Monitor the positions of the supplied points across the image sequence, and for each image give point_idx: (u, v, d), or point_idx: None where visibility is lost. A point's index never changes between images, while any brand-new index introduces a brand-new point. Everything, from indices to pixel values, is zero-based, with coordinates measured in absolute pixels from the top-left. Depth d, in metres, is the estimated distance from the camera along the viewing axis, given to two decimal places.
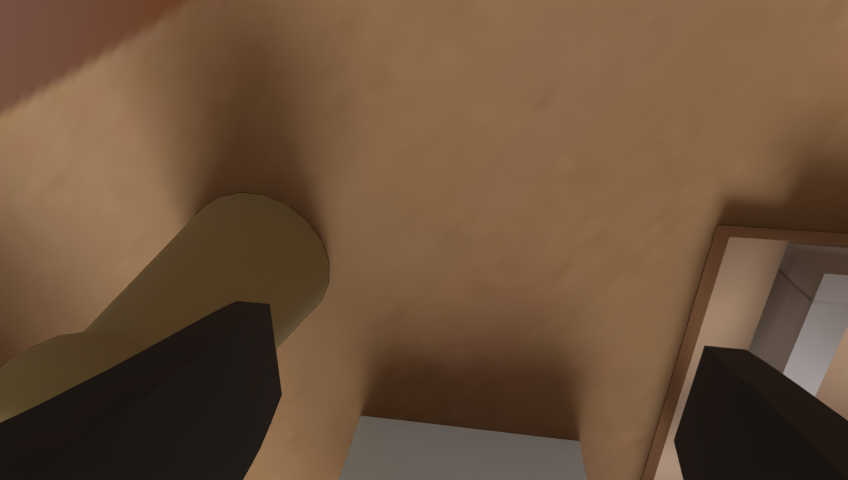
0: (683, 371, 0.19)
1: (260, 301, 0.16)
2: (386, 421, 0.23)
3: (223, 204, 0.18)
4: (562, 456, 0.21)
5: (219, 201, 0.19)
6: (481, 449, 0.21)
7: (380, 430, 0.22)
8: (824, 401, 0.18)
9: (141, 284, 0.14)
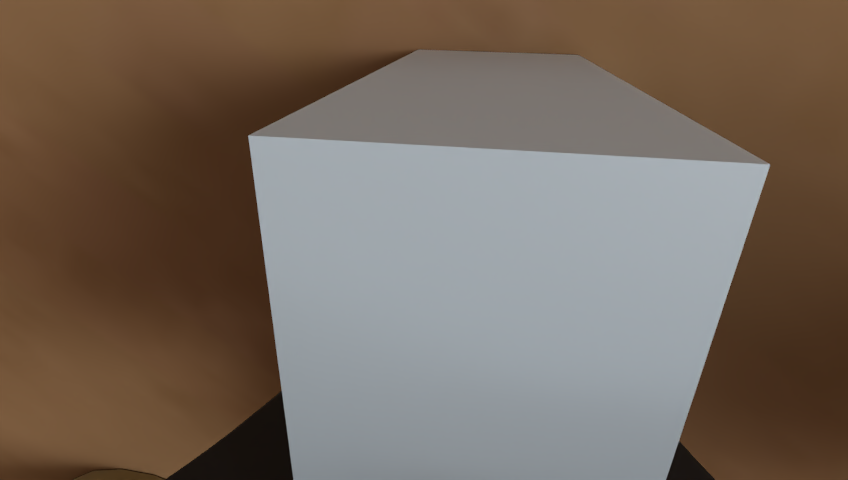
0: None
1: None
2: None
3: None
4: None
5: None
6: None
7: None
8: None
9: None
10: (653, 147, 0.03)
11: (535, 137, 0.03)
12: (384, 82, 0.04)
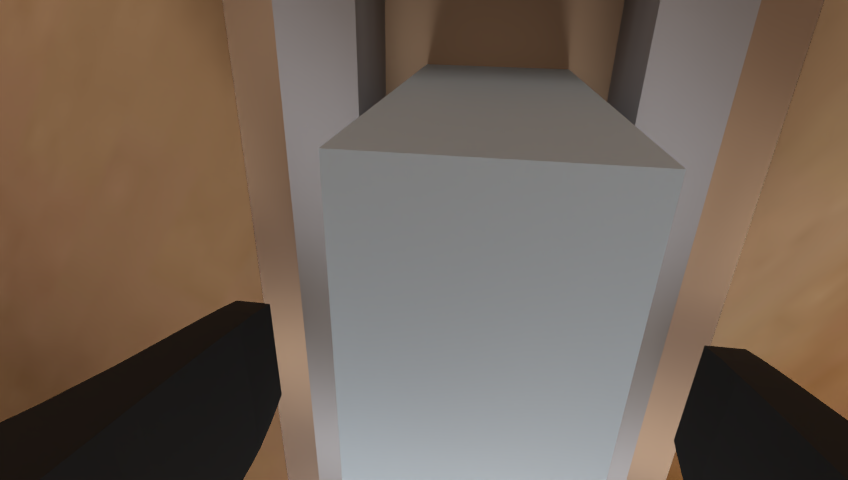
0: None
1: None
2: None
3: None
4: None
5: None
6: None
7: None
8: None
9: None
10: (610, 155, 0.04)
11: (524, 149, 0.04)
12: (405, 100, 0.05)
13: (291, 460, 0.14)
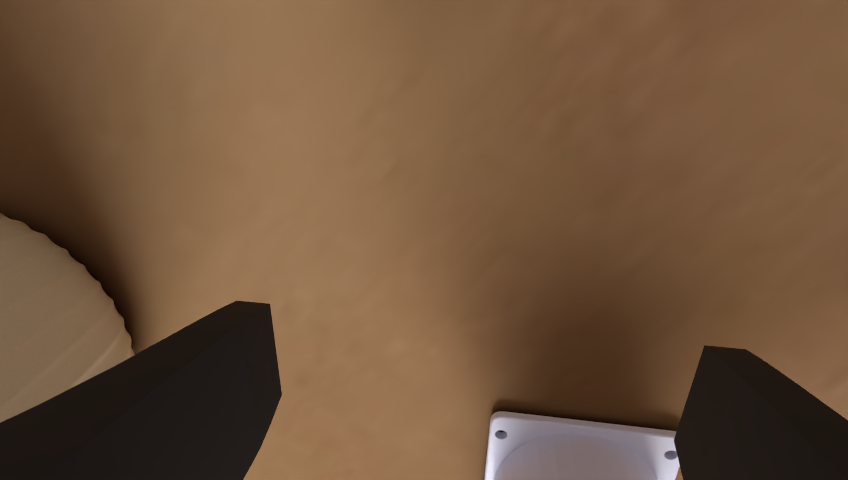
0: None
1: None
2: None
3: None
4: None
5: None
6: None
7: None
8: None
9: None
10: None
11: None
12: None
13: None
